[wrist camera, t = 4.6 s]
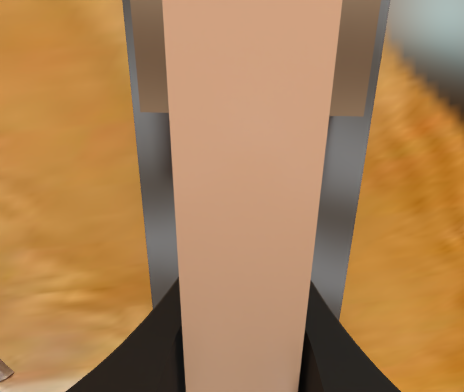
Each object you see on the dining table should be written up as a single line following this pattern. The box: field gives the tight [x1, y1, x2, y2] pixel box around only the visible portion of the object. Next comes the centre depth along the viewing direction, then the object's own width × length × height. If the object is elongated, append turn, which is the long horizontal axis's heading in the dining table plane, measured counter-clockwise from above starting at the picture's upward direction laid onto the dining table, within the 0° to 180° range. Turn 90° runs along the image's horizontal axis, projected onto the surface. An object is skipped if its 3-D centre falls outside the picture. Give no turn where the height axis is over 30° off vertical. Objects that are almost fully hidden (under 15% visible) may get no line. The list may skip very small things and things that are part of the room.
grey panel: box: [122, 0, 390, 321], centre depth 16 cm, size 20×10×5 cm, turn 0°
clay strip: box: [162, 0, 342, 392], centre depth 11 cm, size 16×2×5 cm, turn 0°
